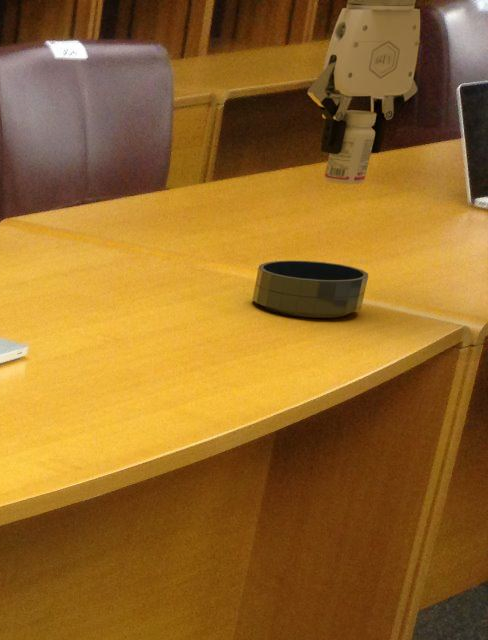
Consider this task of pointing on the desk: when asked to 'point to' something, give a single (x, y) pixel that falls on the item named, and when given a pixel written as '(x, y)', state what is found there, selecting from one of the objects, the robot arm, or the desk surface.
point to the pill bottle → (353, 149)
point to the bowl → (310, 288)
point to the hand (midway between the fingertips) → (350, 150)
